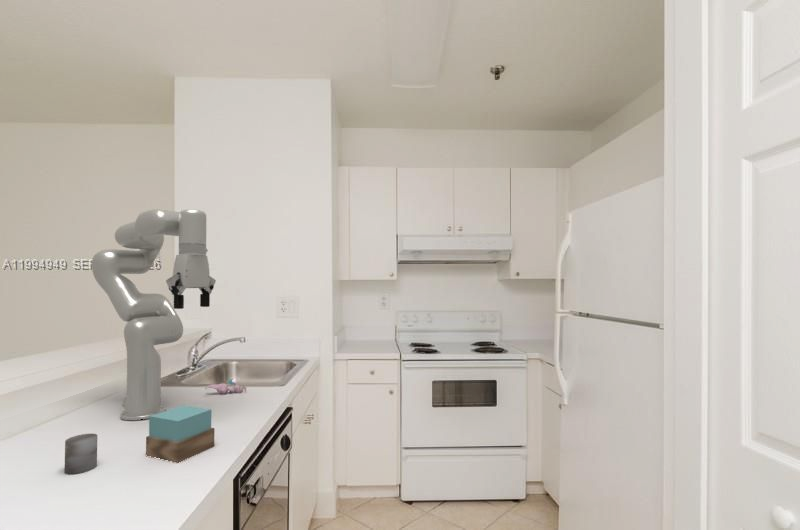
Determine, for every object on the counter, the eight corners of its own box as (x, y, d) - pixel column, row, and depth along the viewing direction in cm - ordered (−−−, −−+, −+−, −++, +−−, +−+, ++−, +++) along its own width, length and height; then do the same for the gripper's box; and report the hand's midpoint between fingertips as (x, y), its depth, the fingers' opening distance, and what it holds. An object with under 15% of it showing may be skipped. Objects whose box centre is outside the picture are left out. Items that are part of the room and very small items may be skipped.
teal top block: (149, 436, 105) (149, 416, 106) (183, 423, 115) (183, 405, 115) (177, 442, 101) (178, 421, 102) (211, 428, 111) (211, 409, 111)
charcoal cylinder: (58, 472, 97) (59, 440, 97) (86, 461, 102) (87, 432, 102) (74, 476, 94) (75, 444, 94) (102, 465, 100) (103, 435, 100)
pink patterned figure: (245, 393, 169) (204, 390, 164) (247, 378, 169) (207, 375, 165) (245, 397, 163) (203, 394, 158) (247, 381, 164) (206, 378, 159)
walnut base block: (145, 457, 105) (146, 436, 105) (183, 441, 115) (184, 423, 115) (177, 464, 101) (178, 443, 101) (214, 447, 111) (214, 428, 111)
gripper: (205, 253, 137) (205, 306, 137) (158, 249, 121) (157, 309, 121) (223, 252, 135) (223, 306, 134) (177, 248, 119) (177, 309, 118)
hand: (192, 307), depth 127 cm, fingers open, 9 cm apart
